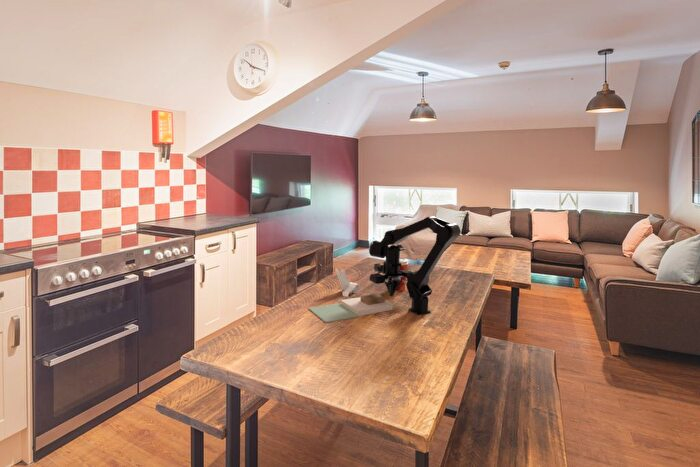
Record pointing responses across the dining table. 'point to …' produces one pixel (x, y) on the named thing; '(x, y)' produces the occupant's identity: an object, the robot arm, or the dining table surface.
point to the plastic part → (347, 284)
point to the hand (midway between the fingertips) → (391, 296)
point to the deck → (365, 306)
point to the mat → (333, 312)
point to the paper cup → (402, 285)
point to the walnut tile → (372, 299)
